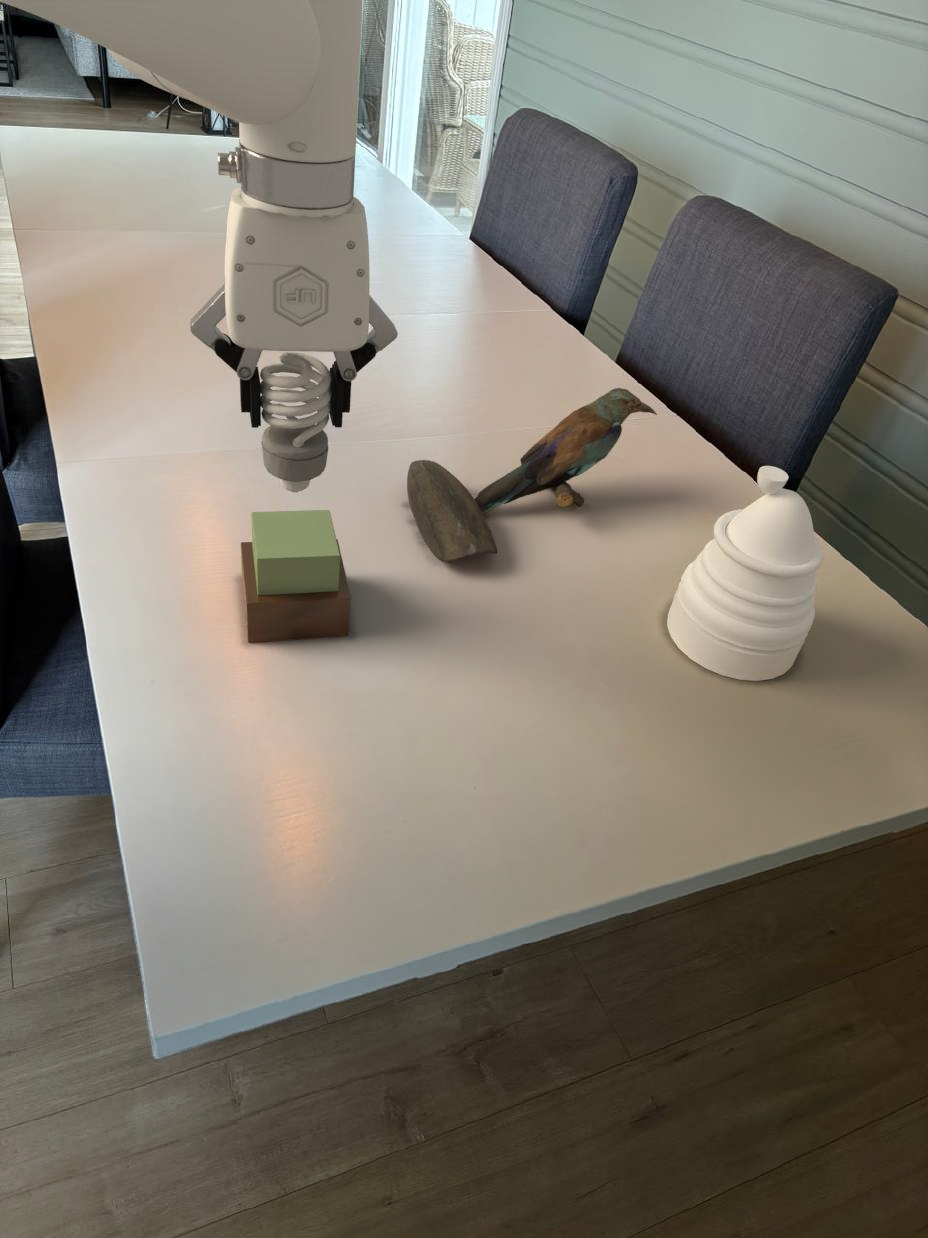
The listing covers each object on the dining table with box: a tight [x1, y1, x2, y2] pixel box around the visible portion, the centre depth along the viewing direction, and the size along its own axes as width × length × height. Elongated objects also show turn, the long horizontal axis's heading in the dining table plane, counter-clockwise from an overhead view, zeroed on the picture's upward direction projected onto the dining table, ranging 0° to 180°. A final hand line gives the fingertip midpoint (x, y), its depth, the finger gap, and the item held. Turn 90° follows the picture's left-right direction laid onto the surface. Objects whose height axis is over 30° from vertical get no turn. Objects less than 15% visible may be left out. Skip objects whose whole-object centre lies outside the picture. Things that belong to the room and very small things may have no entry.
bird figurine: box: [474, 387, 658, 516], centre depth 101 cm, size 13×10×20 cm
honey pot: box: [666, 465, 825, 682], centre depth 85 cm, size 13×13×18 cm
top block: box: [250, 509, 340, 595], centre depth 81 cm, size 7×7×4 cm
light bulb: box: [259, 351, 332, 493], centre depth 73 cm, size 6×6×12 cm
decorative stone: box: [406, 459, 499, 563], centre depth 97 cm, size 17×6×4 cm, turn 21°
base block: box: [240, 538, 352, 643], centre depth 84 cm, size 9×9×4 cm
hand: (295, 417), depth 73 cm, fingers closed on light bulb, 5 cm apart
